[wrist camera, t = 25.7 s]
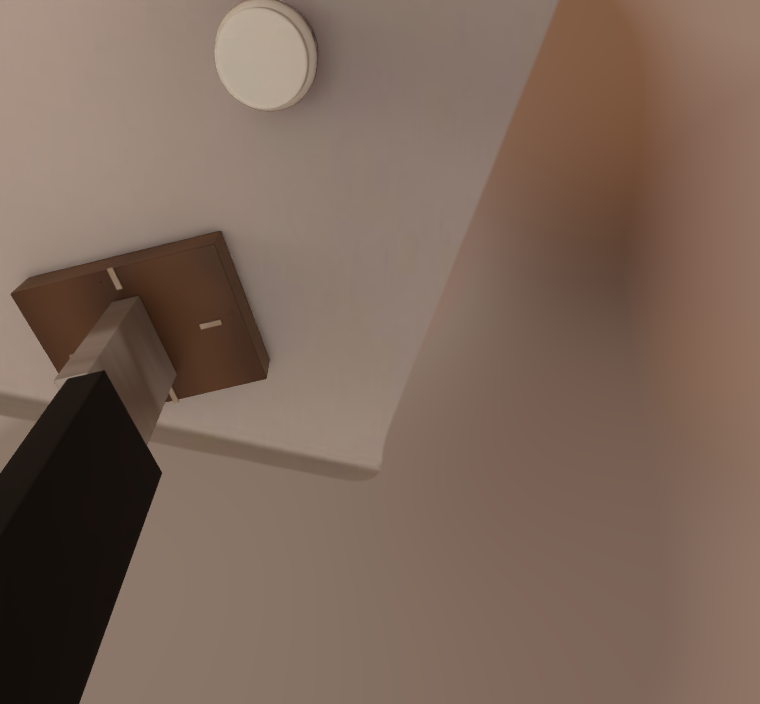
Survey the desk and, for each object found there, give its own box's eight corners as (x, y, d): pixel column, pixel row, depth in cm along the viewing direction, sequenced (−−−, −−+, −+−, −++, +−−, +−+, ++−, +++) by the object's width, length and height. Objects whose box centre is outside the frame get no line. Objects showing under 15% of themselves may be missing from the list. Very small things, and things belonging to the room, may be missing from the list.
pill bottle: (293, 113, 34) (283, 141, 27) (217, 65, 32) (186, 80, 25) (334, 35, 32) (336, 42, 25) (256, -20, 31) (234, -30, 23)
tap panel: (220, 228, 37) (213, 243, 35) (270, 361, 42) (267, 381, 40) (26, 276, 38) (7, 293, 35) (99, 401, 43) (86, 423, 40)
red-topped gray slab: (111, 301, 36) (50, 383, 28) (139, 295, 36) (85, 375, 28) (151, 380, 39) (106, 473, 31) (177, 374, 39) (138, 466, 31)
